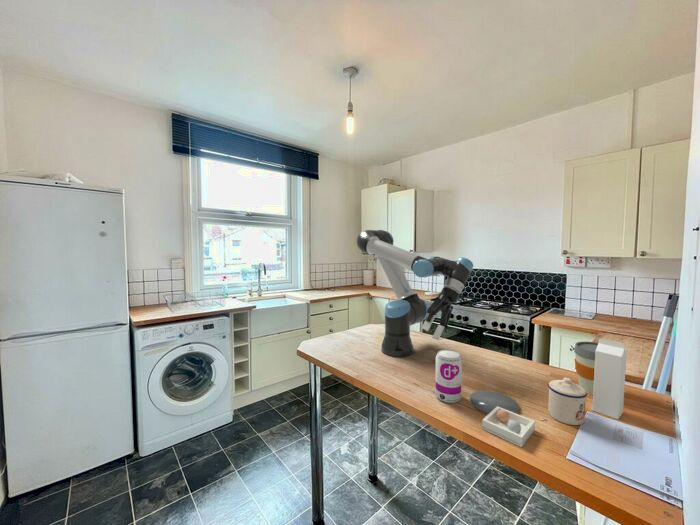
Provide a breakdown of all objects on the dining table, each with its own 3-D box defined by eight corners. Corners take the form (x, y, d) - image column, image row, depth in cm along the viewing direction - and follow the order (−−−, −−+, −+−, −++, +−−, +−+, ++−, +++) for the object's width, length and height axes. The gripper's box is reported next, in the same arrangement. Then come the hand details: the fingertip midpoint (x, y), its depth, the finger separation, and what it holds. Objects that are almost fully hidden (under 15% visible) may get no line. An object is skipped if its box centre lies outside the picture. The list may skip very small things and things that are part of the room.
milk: (618, 420, 85) (622, 346, 83) (591, 410, 90) (595, 340, 88) (623, 412, 88) (627, 341, 87) (597, 403, 93) (601, 336, 91)
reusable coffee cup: (572, 391, 101) (574, 349, 100) (572, 377, 111) (574, 338, 110) (622, 403, 93) (624, 357, 92) (617, 387, 103) (619, 345, 102)
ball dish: (482, 428, 82) (482, 419, 81) (497, 414, 88) (497, 406, 88) (521, 447, 74) (521, 437, 74) (534, 430, 81) (534, 421, 81)
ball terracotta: (494, 420, 84) (495, 410, 83) (499, 416, 86) (499, 405, 86) (506, 426, 81) (507, 415, 81) (511, 421, 83) (511, 410, 83)
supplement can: (461, 405, 93) (462, 360, 92) (434, 401, 96) (435, 357, 94) (460, 393, 101) (461, 350, 99) (435, 389, 103) (436, 348, 102)
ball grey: (505, 432, 79) (505, 421, 79) (510, 427, 81) (510, 416, 81) (518, 438, 76) (518, 426, 76) (522, 432, 78) (523, 421, 78)
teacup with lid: (583, 430, 80) (586, 389, 79) (544, 417, 86) (546, 379, 85) (587, 411, 89) (589, 374, 88) (551, 400, 95) (552, 366, 94)
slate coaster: (462, 403, 94) (462, 400, 94) (481, 388, 104) (481, 386, 104) (508, 423, 84) (508, 420, 84) (525, 404, 93) (525, 402, 93)
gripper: (452, 281, 116) (428, 328, 111) (466, 304, 133) (446, 346, 129) (435, 275, 121) (411, 321, 116) (451, 298, 138) (431, 339, 134)
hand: (430, 334), depth 123 cm, fingers open, 13 cm apart
